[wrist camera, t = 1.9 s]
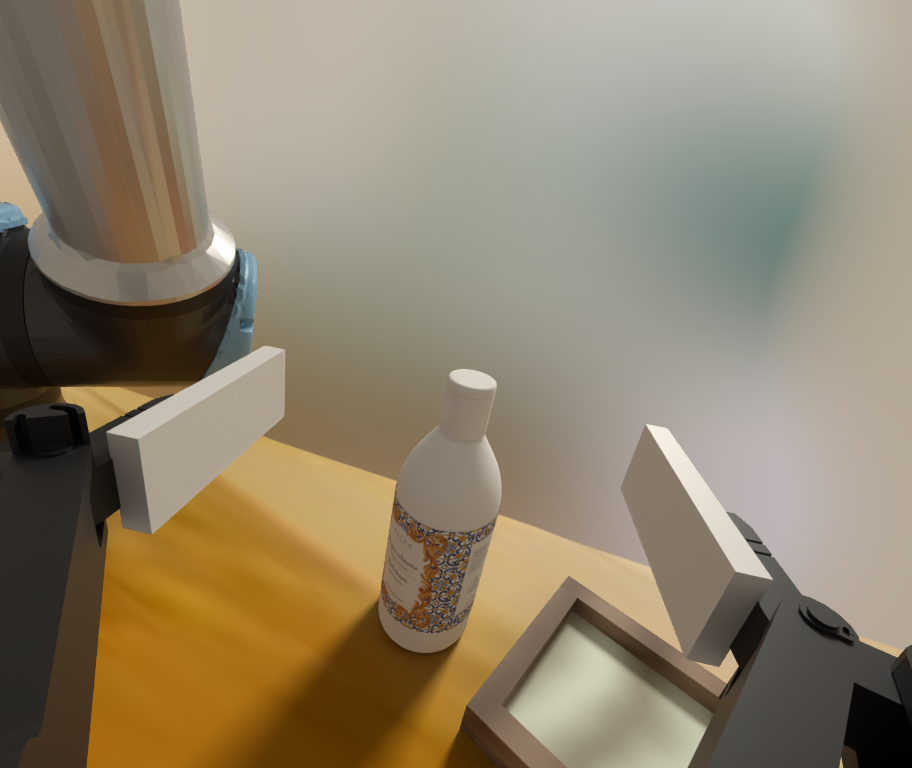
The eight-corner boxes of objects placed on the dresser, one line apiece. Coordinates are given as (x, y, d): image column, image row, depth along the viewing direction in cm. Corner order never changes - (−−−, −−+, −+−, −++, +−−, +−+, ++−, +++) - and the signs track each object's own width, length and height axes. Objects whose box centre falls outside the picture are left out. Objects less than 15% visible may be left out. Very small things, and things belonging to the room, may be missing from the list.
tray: (460, 727, 26) (466, 704, 25) (561, 595, 37) (568, 575, 36) (702, 982, 19) (724, 962, 18) (743, 725, 29) (758, 705, 28)
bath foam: (360, 600, 33) (389, 362, 25) (431, 562, 38) (475, 350, 29) (411, 677, 29) (468, 417, 20) (485, 624, 33) (555, 394, 25)
